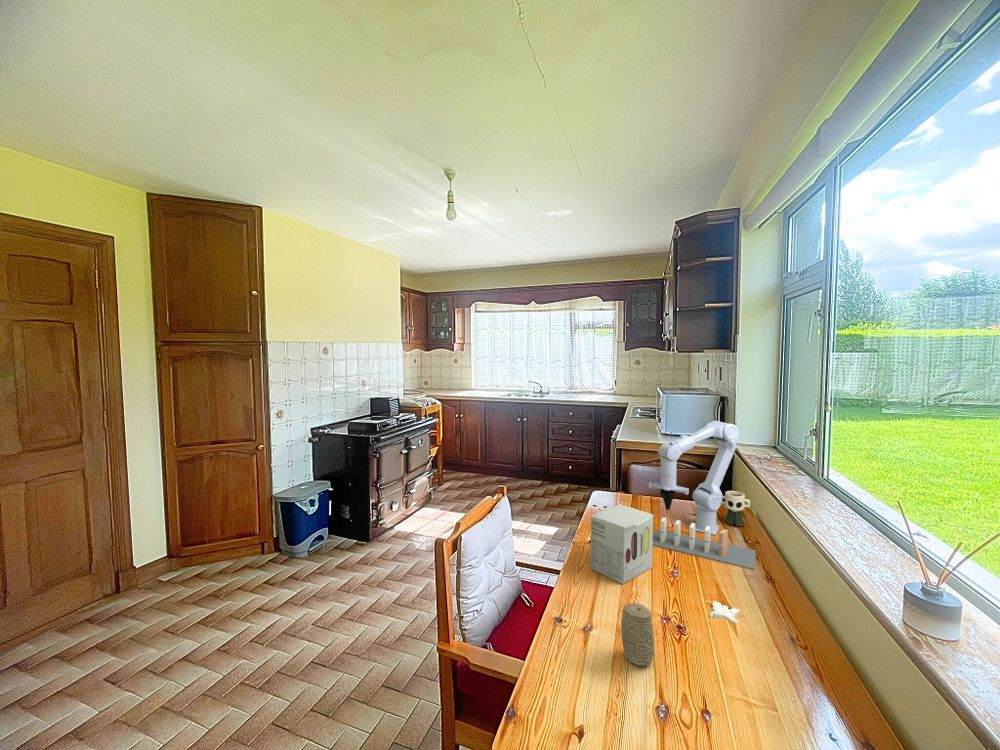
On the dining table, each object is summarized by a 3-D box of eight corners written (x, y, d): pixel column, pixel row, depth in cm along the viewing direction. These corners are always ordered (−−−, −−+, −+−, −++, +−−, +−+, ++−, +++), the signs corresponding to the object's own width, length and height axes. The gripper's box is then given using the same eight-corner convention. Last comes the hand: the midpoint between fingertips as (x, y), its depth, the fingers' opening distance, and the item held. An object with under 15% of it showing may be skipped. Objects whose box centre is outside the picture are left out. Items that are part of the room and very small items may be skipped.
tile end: (723, 551, 147) (724, 529, 147) (727, 552, 146) (727, 530, 146) (718, 555, 144) (719, 532, 144) (722, 556, 143) (722, 533, 143)
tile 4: (706, 547, 150) (706, 525, 150) (710, 548, 150) (710, 526, 149) (704, 552, 147) (704, 530, 146) (708, 553, 146) (708, 531, 146)
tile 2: (677, 540, 156) (677, 519, 156) (680, 541, 155) (680, 520, 155) (674, 545, 152) (674, 524, 152) (678, 546, 151) (678, 524, 151)
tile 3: (691, 543, 153) (691, 522, 153) (695, 544, 152) (695, 523, 152) (689, 548, 149) (689, 527, 149) (692, 549, 149) (693, 527, 148)
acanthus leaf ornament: (709, 619, 111) (709, 612, 111) (709, 605, 117) (709, 599, 117) (741, 627, 108) (741, 620, 108) (739, 612, 114) (739, 605, 114)
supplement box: (624, 586, 127) (624, 528, 126) (589, 569, 137) (589, 515, 136) (654, 567, 138) (654, 513, 137) (619, 552, 148) (620, 503, 147)
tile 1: (663, 537, 159) (663, 517, 158) (666, 538, 158) (666, 517, 158) (660, 542, 155) (660, 521, 155) (663, 542, 154) (663, 521, 154)
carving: (627, 644, 101) (627, 597, 100) (658, 658, 96) (659, 608, 96) (616, 659, 96) (616, 609, 95) (648, 675, 91) (649, 622, 91)
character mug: (719, 524, 171) (719, 493, 170) (719, 518, 177) (720, 489, 177) (749, 530, 166) (750, 498, 165) (749, 523, 172) (750, 493, 171)
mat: (656, 530, 167) (656, 529, 167) (755, 551, 148) (756, 550, 148) (647, 544, 154) (647, 543, 154) (753, 569, 135) (753, 568, 135)
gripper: (646, 474, 163) (646, 508, 163) (686, 480, 155) (686, 516, 155) (651, 470, 169) (650, 503, 169) (689, 475, 161) (689, 510, 161)
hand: (668, 508), depth 163 cm, fingers closed
